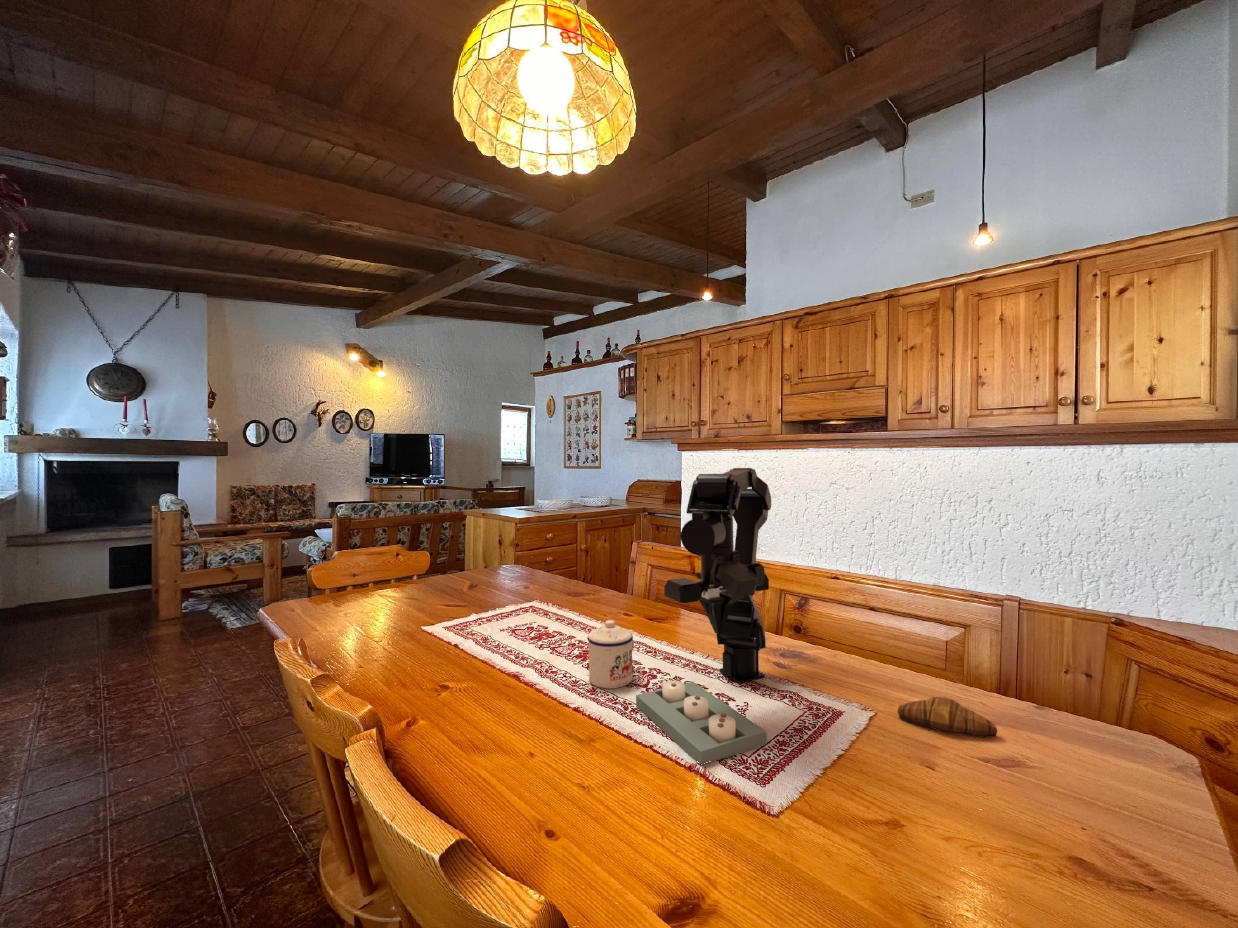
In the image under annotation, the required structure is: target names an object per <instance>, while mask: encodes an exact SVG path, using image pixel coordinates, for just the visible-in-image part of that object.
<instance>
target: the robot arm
mask: <svg viewBox="0 0 1238 928" xmlns="http://www.w3.org/2000/svg"><path fill="white" fill-rule="evenodd" d="M771 495H772V494H771V492H770V488H769V485H768V483H766V482H765V481H764V480H763V479H761V478H760V477H759V476H758V475H757V472H756V469H755V468H751V467H733V468H730V469H729V470H728V471H726V472H723V473H699V474H698V475H697V476H696V477H695V480H693V483H692V485H691V489H690V495H689V499H688V504H687V507H686V514H687V515H688V514H691V519H690V520H687V522H686V523H684V525H683V527H682V529H681V531H680V541H681V542H680V543H681V544H682V546H683V547H684V549H685V550H686V551H687V552H689V553H690V554H692V555H696V556H698V557H700V571H699V572H696V579H698V580H699V581H694V580H692V579H689V578H687V577H680V578H679V577H678V578H673V579H667V581H666V582H665V584H664V587H663V588H664V590H663V592H664V595H663V596H664V597H667V598H669V599H671V600H673V601H675V602H677V603H680V604H688V603H689V604H690V603H695V602H698V601H699V603H700V605H701V606H702V608H703V610H704V612H705V614H706V616H707V619H708V620H709V623H710V625H711V627H712V630H713V631H714V634H716V641H717V645H723V652H722V668H719V672H720V673H721V674H722V675H725V676H727V677H728V678H730V679H731V680H733V681H734V682H735V683H739V684H742V683H744V682H749V681H755V680H757V679H760V678H765V673H763V672H761V671H760V670H759V669H760V668H759V667H760V665H759V663H760V662H759V661H760V659H759V652H760V651H761V650H762V649H766V648H767V647H766V646H767V645H766V644H767V641H766V640H767V639H766V632H765V629H764V627H763V623H762V621H761V619H760V612H759V609H758V607H757V605H756V603H755V601H754V599H753V598H754V597H753V596H754V595H755V593H756V592H762V591H766V590H767V591H768V590H770V579H769V577H768V576H767V574H766V573H765V566H764V565H763V564H762V563H760V562H757V561H756V560H757V552H758V551H757V550H758V540H759V531H760V529H761V528H762V526H764V524H765V523H766V522H767V520H768V517H769V511H771V508H772V496H771ZM734 521H735V523H736V531H735V541H734Z"/></svg>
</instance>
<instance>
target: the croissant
mask: <svg viewBox="0 0 1238 928" xmlns="http://www.w3.org/2000/svg"><path fill="white" fill-rule="evenodd" d="M897 714H898V717H899V718H901V719H903V720H905V721H907V722H909V723H913V724H916V725H919V726H923V727H928V728H930V729H934V730H938V731H941V732H944V733H948V734H958V735H960V734H961V735H967V736H971V737H978V738H996V737H997V734H998V728H997V725H996V724H995V723H994V722H992V721H990V720H989V719H988V718H986V717H984V716H982V715H981V714H979V713H977V712H975V711H973V710H971V709H969V708H967V707H965V706H964V705H962V704H960V703H959V702H958V701H957V700H954V699H950V698H949V697H946V696H932V697H931V698H928V699H922V700H915V701H909V702H906V703H903V704H900V705H898V709H897Z"/></svg>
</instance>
